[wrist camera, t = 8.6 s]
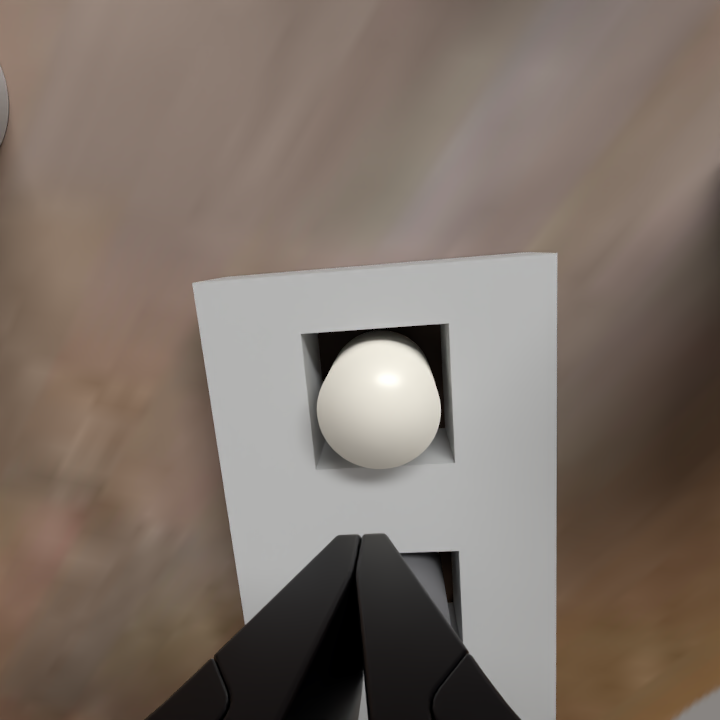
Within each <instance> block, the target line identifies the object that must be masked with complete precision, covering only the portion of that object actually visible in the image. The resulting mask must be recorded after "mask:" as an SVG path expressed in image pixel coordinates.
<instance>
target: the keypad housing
mask: <svg viewBox="0 0 720 720" xmlns="http://www.w3.org/2000/svg"><path fill="white" fill-rule="evenodd" d="M192 284H193V291H194V297H195V304H196V310H197V317H198V323H199V330H200V336H201V343H202V349H203V356H204V362H205V369H206V375H207V382H208V388H209V395H210V401H211V407H212V414H213V420H214V427H215V433H216V440H217V446H218V453H219V459H220V466H221V472H222V479H223V485H224V492H225V498H226V505H227V511H228V518H229V524H230V530H231V537H232V543H233V550H234V556H235V563H236V569H237V576H238V582H239V589H240V595H241V602H242V608H243V615H244V621H245V625H246V624H247V623H248V622H249V621H250V620H251V619H252V618H253V617H254V616H255V615H256V614H257V613H258V612H259V611H260V610H261V609H262V608H263V607H264V606H265V605H266V604H267V603H268V602H269V601H270V600H271V599H272V598H273V597H274V596H275V595H276V594H277V593H278V592H280V591H281V590H282V589H283V588H284V587H285V586H286V585H287V584H288V583H289V582H290V581H291V580H292V579H293V578H294V577H295V576H296V575H297V574H298V573H299V572H300V571H301V570H302V569H303V568H304V567H305V566H306V565H307V564H308V563H309V562H310V561H311V560H312V559H313V558H314V557H315V556H316V555H317V554H318V553H319V552H320V551H322V550H323V549H324V548H325V547H326V546H327V545H328V544H329V543H330V542H331V541H332V540H333V539H334V538H335V537H336V536H337V535H347V534H358V535H360V536H361V538H362V536H363V535H364V534H373V533H384V534H386V535H387V536H388V537H389V539H390V540H391V542H392V543H393V544H394V546H395V547H396V549H397V550H398V552H399V553H415V552H444V551H451V561H452V582H453V602H451V603H448V610H449V616H450V623H451V627H452V628H453V630H454V631H455V633H456V634H457V635H458V637H459V638H460V640H461V641H462V643H463V644H464V645H465V647H466V648H467V650H468V651H469V654H470V655H472V656H473V658H474V659H475V661H476V662H477V663H478V665H479V666H480V668H481V669H482V671H483V672H484V673H485V675H486V676H487V678H488V679H489V680H490V681H491V683H492V684H493V685H494V687H495V688H496V689H497V691H498V692H499V693H500V695H501V696H502V697H503V699H504V700H505V701H506V703H507V704H508V705H509V706H510V707H511V708H512V710H513V711H514V712H515V713H516V714H517V715H518V716H519V718H520V719H521V720H556V490H557V253H538V252H524V253H511V254H499V255H487V256H475V257H463V258H451V259H439V260H426V261H414V262H402V263H390V264H378V265H366V266H353V267H341V268H329V269H317V270H305V271H293V272H280V273H268V274H256V275H244V276H232V277H223V278H218V279H212V280H206V281H201V282H195V283H192ZM433 324H440V334H441V355H442V375H443V396H444V417H445V428H438V430H437V433H436V435H435V437H434V439H433V440H432V442H431V443H430V445H429V446H428V447H427V448H426V450H425V451H424V452H422V453H421V454H420V455H419V456H418V457H416V458H415V459H413V460H412V461H410V462H408V463H406V464H404V465H401V466H398V467H394V468H388V469H371V468H365V467H362V466H358V465H356V464H353V463H351V462H349V461H347V460H346V459H344V458H343V457H341V456H340V455H339V454H338V453H336V452H335V451H334V450H333V449H332V447H331V446H330V445H329V444H328V442H327V441H326V439H325V438H324V436H323V434H322V432H321V429H320V426H319V423H318V418H317V400H318V396H319V392H320V389H321V387H322V384H323V380H322V371H321V361H320V351H319V341H318V333H321V332H335V331H349V330H363V329H377V328H391V327H405V326H419V325H433ZM358 720H368V714H367V704H366V693H365V683H364V678H363V688H362V697H361V704H360V711H359V718H358Z"/></svg>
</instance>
